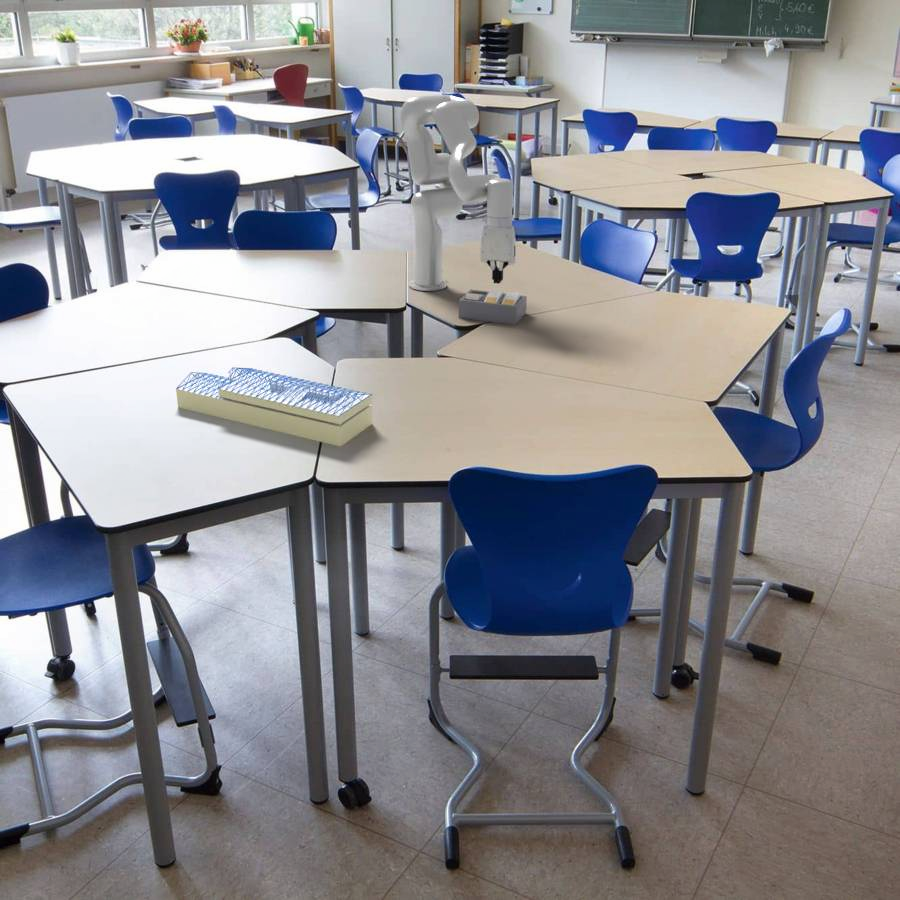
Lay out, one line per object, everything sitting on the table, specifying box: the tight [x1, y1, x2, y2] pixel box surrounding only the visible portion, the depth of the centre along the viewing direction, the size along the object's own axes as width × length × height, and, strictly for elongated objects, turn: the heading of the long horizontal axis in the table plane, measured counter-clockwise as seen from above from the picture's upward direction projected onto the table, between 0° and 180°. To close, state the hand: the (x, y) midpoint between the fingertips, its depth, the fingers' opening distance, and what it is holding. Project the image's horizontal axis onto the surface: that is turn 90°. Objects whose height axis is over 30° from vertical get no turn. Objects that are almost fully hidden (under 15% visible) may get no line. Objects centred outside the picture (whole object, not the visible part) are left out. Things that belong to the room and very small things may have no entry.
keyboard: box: [175, 367, 373, 447], centre depth 227 cm, size 45×15×10 cm, turn 64°
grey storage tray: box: [458, 289, 528, 326], centre depth 300 cm, size 12×18×6 cm, turn 72°
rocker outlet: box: [501, 291, 521, 305], centre depth 297 cm, size 8×4×2 cm, turn 161°
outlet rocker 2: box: [484, 289, 504, 303], centre depth 298 cm, size 8×4×2 cm, turn 161°
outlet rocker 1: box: [465, 292, 485, 301], centre depth 300 cm, size 8×4×2 cm, turn 162°
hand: (497, 282), depth 298 cm, fingers closed
